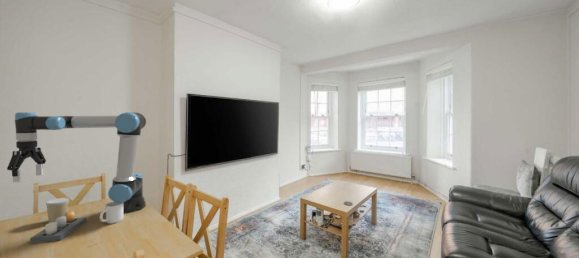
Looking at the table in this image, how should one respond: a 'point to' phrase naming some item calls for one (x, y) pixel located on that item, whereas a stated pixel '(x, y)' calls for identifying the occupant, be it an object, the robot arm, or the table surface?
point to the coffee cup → (57, 208)
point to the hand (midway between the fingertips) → (28, 178)
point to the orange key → (70, 216)
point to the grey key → (61, 222)
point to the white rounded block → (51, 228)
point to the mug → (113, 213)
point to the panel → (59, 231)
